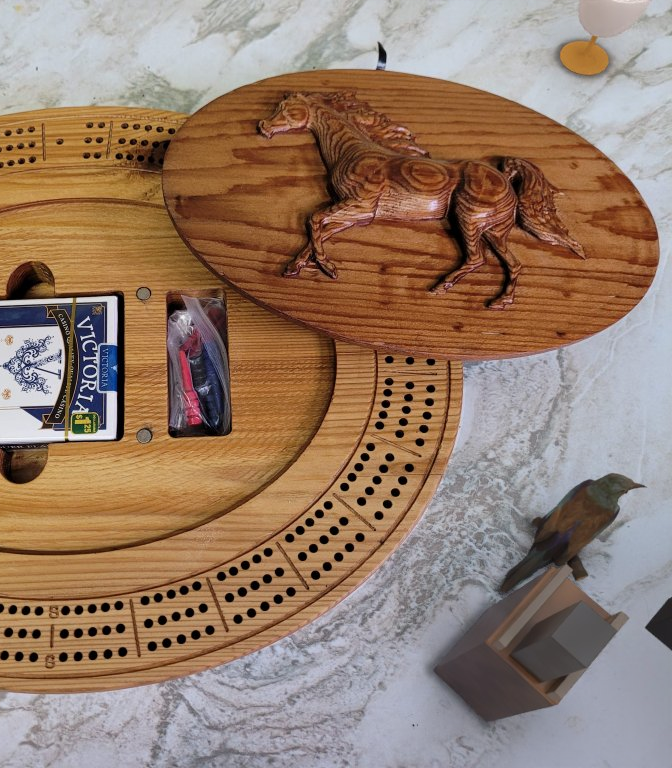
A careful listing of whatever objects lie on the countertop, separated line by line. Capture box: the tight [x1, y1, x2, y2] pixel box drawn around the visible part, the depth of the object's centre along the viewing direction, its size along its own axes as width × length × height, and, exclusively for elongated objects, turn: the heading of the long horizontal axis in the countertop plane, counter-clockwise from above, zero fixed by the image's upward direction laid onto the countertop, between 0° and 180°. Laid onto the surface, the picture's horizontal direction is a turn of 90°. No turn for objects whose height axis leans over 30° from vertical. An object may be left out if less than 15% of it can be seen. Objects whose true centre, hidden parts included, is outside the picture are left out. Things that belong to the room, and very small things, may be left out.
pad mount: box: [485, 563, 630, 707], centre depth 85 cm, size 9×12×13 cm
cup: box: [559, 0, 653, 76], centre depth 152 cm, size 12×12×17 cm
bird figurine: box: [498, 472, 648, 594], centre depth 112 cm, size 13×10×20 cm
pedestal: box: [432, 568, 554, 723], centre depth 101 cm, size 9×12×23 cm
